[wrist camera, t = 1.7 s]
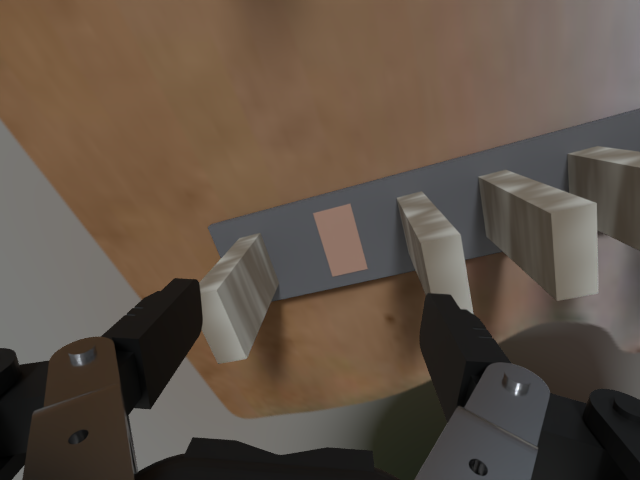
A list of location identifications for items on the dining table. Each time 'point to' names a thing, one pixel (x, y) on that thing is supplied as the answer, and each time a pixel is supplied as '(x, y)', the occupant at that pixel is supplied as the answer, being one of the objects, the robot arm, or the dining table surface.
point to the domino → (237, 298)
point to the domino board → (384, 216)
